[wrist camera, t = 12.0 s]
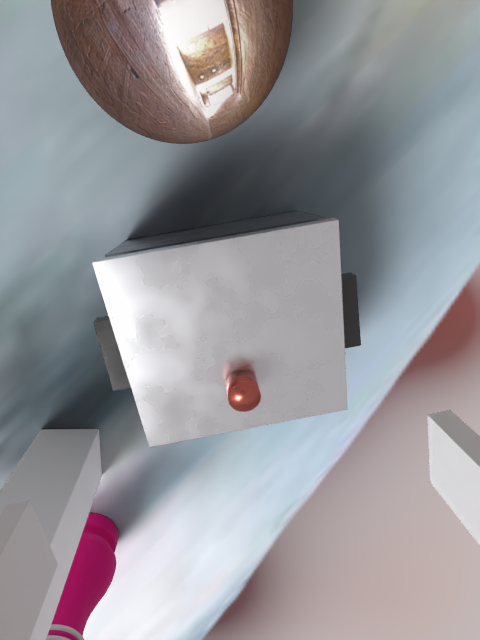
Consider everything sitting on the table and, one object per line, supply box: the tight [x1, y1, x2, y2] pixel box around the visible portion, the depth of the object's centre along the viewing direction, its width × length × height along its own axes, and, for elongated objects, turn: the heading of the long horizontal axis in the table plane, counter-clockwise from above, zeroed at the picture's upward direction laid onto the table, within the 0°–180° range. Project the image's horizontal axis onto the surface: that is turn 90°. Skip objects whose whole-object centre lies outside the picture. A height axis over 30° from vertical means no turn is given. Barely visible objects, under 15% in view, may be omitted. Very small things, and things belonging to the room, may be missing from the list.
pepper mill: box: [46, 513, 118, 640], centre depth 38 cm, size 7×7×20 cm
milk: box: [0, 429, 102, 640], centre depth 34 cm, size 6×6×22 cm
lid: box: [92, 218, 348, 447], centre depth 30 cm, size 16×16×3 cm
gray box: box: [94, 211, 361, 391], centre depth 37 cm, size 16×21×9 cm
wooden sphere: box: [51, 0, 293, 144], centre depth 27 cm, size 15×15×15 cm
